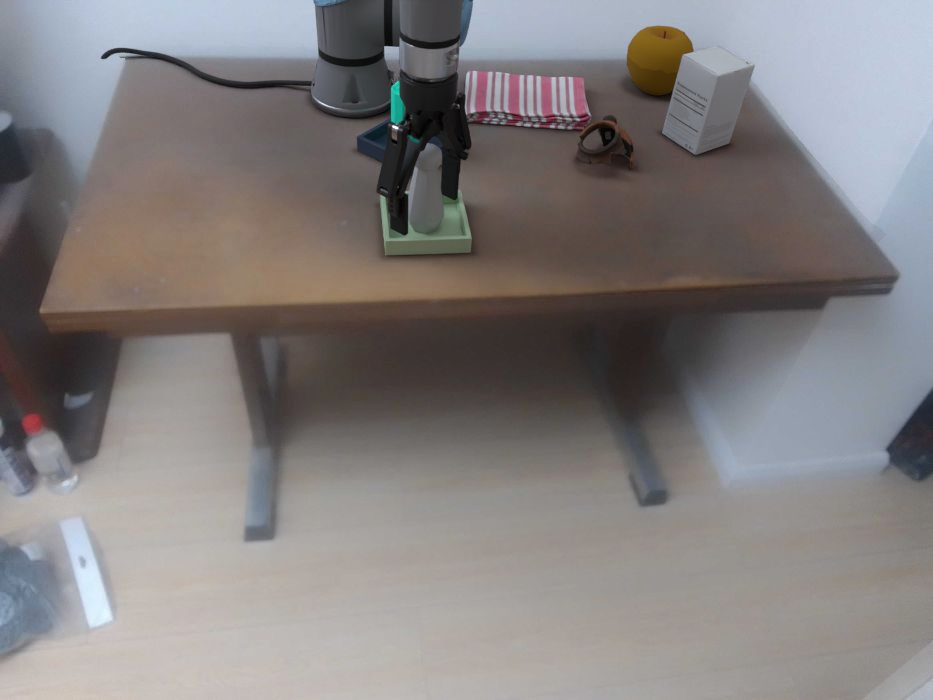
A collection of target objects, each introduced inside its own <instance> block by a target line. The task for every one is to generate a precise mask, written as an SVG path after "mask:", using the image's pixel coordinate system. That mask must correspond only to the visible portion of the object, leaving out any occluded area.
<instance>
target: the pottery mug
mask: <svg viewBox="0 0 933 700" xmlns="http://www.w3.org/2000/svg"><path fill="white" fill-rule="evenodd" d="M617 120H618V119H617V118H616V117H615V116H614V115H613V114H608V115H606V116H604V117H603V118H602V119H601V120H597V121H595V122H592V123H589V124H588V125H587V127H586V126H585V127H584V130H581V132H580V134H579V139H580V140H579V142H578V143H577V148H576V159H577V160H578V161H580V162H582V163H584V164H587V165H591V164H592V165H598V164H606V165H608V166H611V165H612V163H611V160H612V159H611V158H612V153H613V154H614V155H621V156H626V157H627V158H629V164H630V165H629V169H630V170H631V171H632V170H634V167H635V148H634V147H635V146H634V143H633V140H632V138H631V136H630V134H629V133H628V132H627V130H625V129H624V128H623V127H621V126H618V121H617ZM595 131H598V133H599V136H600V138H601V144H602V147H600V148H597V149H590V148H587V147H586V146H585V145H584V144H583V143H584V141H585V140H586V139H587V137H588V136H589V135H590V134H591V133H593V132H595Z"/></svg>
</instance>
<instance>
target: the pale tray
mask: <svg viewBox="0 0 933 700" xmlns="http://www.w3.org/2000/svg"><path fill="white" fill-rule="evenodd" d="M405 193H406V194H409V190H406V191H405ZM442 199H443V206H444V218H443V219H442V221H441V222H440V224H439V226H438V228H437V230H436V231H434V232H430V233H427V234H423V233H420V232H416V231H414V230H413V228H412V226H411V224H410V223H409V221H408V234H407V235H405V236H404V235H402V234H400V233H398V232H396V231H394V230H392V229H390V214H389V212H388V198H386V197H384V196H382V195H380V194H379V202H380V203H379V204H380V205H379V207H380V217H381V227H382V236H383V245H384V246H383V248H384V255H385V256H411V255H412V256H413V255H415V256H417V255H441V254H444V255H445V254H471V253H472V244H473V243H472V242H473V241H472V240H473V237H472V232H471V227H470V223H469V221H468V216H467V210H466V205H465V202H464V198H463V194H462V190H461V189H458V199H456V200H455V201H454V200H452V199H450V198H448V197H446V196H444V195H442Z"/></svg>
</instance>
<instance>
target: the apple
mask: <svg viewBox="0 0 933 700" xmlns="http://www.w3.org/2000/svg"><path fill="white" fill-rule="evenodd" d="M694 50H695V49H694V46H693V42H692V40H691V39H690V38H689V36H688V35H687V33H686V32H685V31H683V30H681V29H679V28H677V27H673V26H668V25H653V26H651V25H650V26H646V27H644V28H642V29H640V30H639V31H637V32H636V33H635V35H634V36H633V37H632V38H631V40H630V42H629V44H628V45H627V53H626V66H627V70H628V74H629V76H630V78H631V80H632V83H633V84H634V85H635V86H636V88H638V90H640V91H642V92H643V93H645V94H647V95H651V96H665V95H667V94H670V93H672V92H673V89H674V86H675V82H676V78H677V74H678V71H679V67H680V63H681V59H682V55H683V54H687V53H691V52H695V51H694Z"/></svg>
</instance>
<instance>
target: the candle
mask: <svg viewBox="0 0 933 700" xmlns="http://www.w3.org/2000/svg"><path fill="white" fill-rule="evenodd" d="M393 84H394V85H393V86H392V87H391V107H390V118H391V122H394V123H396V124H397V123H399V122H401V121H403V116H404V113H405V106H404V103H403V102H402V100H401V98H400V94H399V80H397V81H396V82H395V83H393ZM410 140H412V141H414V142H416V143H418V142H419V140H417V139H415V138H413V137H412V136H411V135H410Z"/></svg>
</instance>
